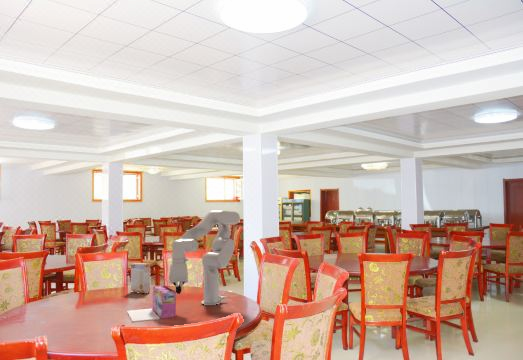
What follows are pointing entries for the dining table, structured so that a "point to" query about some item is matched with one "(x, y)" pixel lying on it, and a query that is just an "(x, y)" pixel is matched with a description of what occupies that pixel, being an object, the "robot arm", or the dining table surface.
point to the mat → (142, 315)
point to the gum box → (164, 301)
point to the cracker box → (140, 277)
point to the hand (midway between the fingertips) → (178, 293)
